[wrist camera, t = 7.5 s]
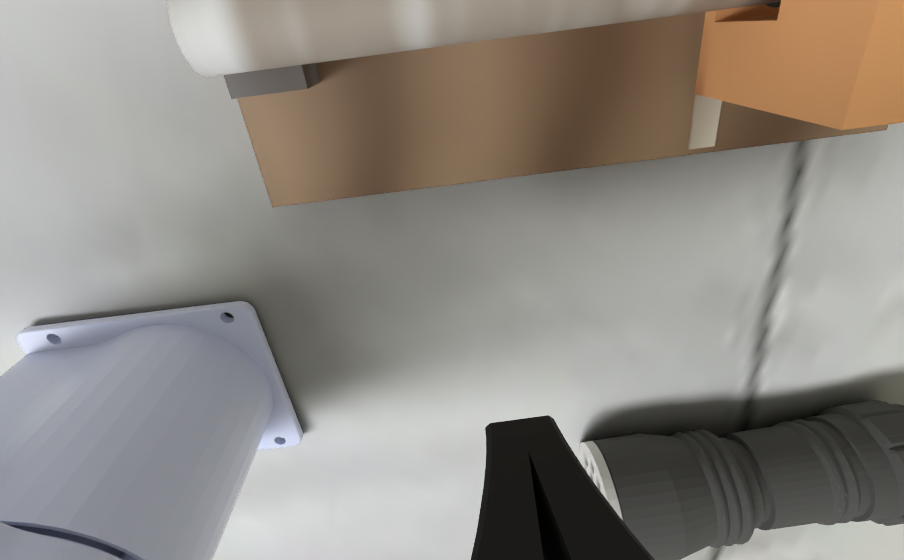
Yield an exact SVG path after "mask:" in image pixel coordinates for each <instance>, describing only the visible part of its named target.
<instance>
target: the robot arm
mask: <svg viewBox="0 0 904 560" xmlns="http://www.w3.org/2000/svg"><path fill="white" fill-rule="evenodd" d="M224 312H227V313H230V314H232V315H233V317H234V318H230V317H228V316H226V315H225V313H224ZM56 335H58V336H59V337H60V338H59V337H57V336H56ZM16 339H17V342H18V344H19V345H20V346H21V348H22V349H23V350H24V352H25V353H26V356H25V357H24V358H22V359H21V360H20V361H19V362H17V363H16V364H15V365H14V366H12V367H11V368H10V369H9V370H8V371H6V372H5V373H4V374H3V375H1V376H0V560H212V559H213V556H214V554H215V551H216V549H217V547H218V544H219V542H220V539H221V537H222V534H223V532H224V529H225V527H226V524H227V522H228V520H229V517H230V515H231V512H232V510H233V507H234V505H235V502H236V500H237V498H238V495H239V493H240V490H241V488H242V485H243V483H244V480H245V478H246V475H247V473H248V471H249V468H250V466H251V463H252V461H253V458H254V456H255V453H256V451H257V450H264V449H272V448H281V447H290V446H295V445H298V444H300V442H301V440H302V437H303V432H302V429H301V427H300V424H299V421H298V419H297V416H296V414H295V411H294V409H293V406H292V404H291V401H290V398H289V396H288V393H287V391H286V388H285V386H284V383H283V381H282V378H281V375H280V373H279V370H278V368H277V365H276V363H275V360H274V357H273V355H272V352H271V350H270V347H269V345H268V342H267V340H266V337H265V334H264V332H263V329H262V327H261V324H260V322H259V319H258V317H257V314H256V311H255V309H254V308H253V306H252V305H250V304H249V303H247V302H244V301H235V302H227V303H219V304H210V305H202V306H194V307H186V308H178V309H170V310H162V311H153V312H145V313H137V314H129V315H121V316H113V317H105V318H96V319H88V320H80V321H72V322H64V323H56V324H48V325H39V326H31V327H27V328H24V329H23V330H22V331H20V332H19V333H18V334H17V336H16ZM485 430H486V469H485V479H484V489H483V495H482V502H481V509H480V515H479V522H478V528H477V533H476V538H475V543H474V547H473V552H472V557H471V560H654V558H653V557H652V556H651V555H650V554H649V552H648V551H647V550H646V549H645V548H644V546H643V545H642V544H641V543H640V542H639V540H638V539H637V538H636V537H635V536H634V534H633V533H632V532H631V531H630V529H629V528H628V527H627V526H626V524H625V523H624V522H623V520H622V519H621V518H620V517H619V515H618V514H617V513H616V511H615V510H614V509H613V507H612V506H611V505H610V503H609V502H608V501H607V499H606V498H605V497H604V495H603V494H602V493H601V491H600V490H599V489H598V487H597V486H596V485H595V483H594V482H593V481H592V479H591V478H590V476H589V475H588V473H587V472H586V471H585V469H584V468H583V466H582V465H581V463H580V462H579V460H578V459H577V457H576V456H575V454H574V453H573V451H572V450H571V448H570V446H569V445H568V443H567V442H566V440H565V438H564V437H563V435H562V433H561V431H560V430H559V428H558V426H557V424H556V422H555V421H554V419H553V418H551V417H550V416H541V417H533V418H526V419H518V420H511V421H504V422H496V423H490V424H489V425H488V426H487V427H486V428H485ZM280 437H283V438H280Z"/></svg>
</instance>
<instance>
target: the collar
mask: <svg viewBox="0 0 904 560" xmlns="http://www.w3.org/2000/svg"><path fill="white" fill-rule="evenodd" d="M694 94H696V95H700V96H705V97H709V98H713V99H717V100H721V101H725V102H729V103H733V104H737V105H741V106H745V107H749V108H753V109H758V110H762V111H766V112H770V113H774V114H778V115H782V116H786V117H790V118H794V119H798V120H802V121H806V122H811V123H815V124H819V125H823V126H827V127H831V128H835V129H839V130H847V129H855V128H862V127H870V126H878V125H886V124H894V123H902V122H904V0H781V4H780V7H769V6H767V5H765V4H761V5H753V6H745V7H738V8H730V9H722V10H715V11H707V12H706V13H705V20H704V28H703V35H702V42H701V50H700V57H699V64H698V71H697V79H696V86H695V93H694Z"/></svg>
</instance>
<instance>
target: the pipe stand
mask: <svg viewBox="0 0 904 560" xmlns="http://www.w3.org/2000/svg"><path fill="white" fill-rule="evenodd" d="M761 4H765V5H767V6H769V7H780V4H781V0H167V9H168V16H169V20H170V24H171V28H172V31H173V34H174V36H175V39H176V41H177V44H178V46H179V48H180V50H181V52H182V54H183V55H184V57H185V59H186V60H187V62H188V63H189V64H190V66H191V67H192V68H193V69H194V70H195V71H196V72H197V73H198V74H200V75H201V76H203V77H212V76H220V75H224V77H225V80H226V83H227V86H228V89H229V92H230V95H231V99H234V98H237V99H238V103H239V106H240V109H241V112H242V115H243V118H244V121H245V124H246V127H247V130H248V133H249V136H250V139H251V142H252V146H253V149H254V152H255V155H256V158H257V161H258V164H259V167H260V170H261V173H262V176H263V179H264V182H265V186H266V189H267V192H268V195H269V198H270V201H271V204H272V207H279V206H286V205H294V204H302V203H310V202H318V201H326V200H334V199H342V198H350V197H358V196H366V195H374V194H382V193H390V192H397V191H405V190H413V189H421V188H429V187H437V186H445V185H453V184H461V183H469V182H477V181H485V180H493V179H501V178H508V177H516V176H524V175H532V174H540V173H548V172H556V171H564V170H572V169H580V168H588V167H596V166H604V165H611V164H619V163H627V162H635V161H643V160H651V159H659V158H667V157H675V156H683V155H691V154H699V153H707V152H715V151H722V150H730V149H738V148H746V147H754V146H762V145H770V144H778V143H786V142H794V141H802V140H810V139H818V138H826V137H833V136H841V135H849V134H857V133H865V132H873V131H881V130H887V127H888V124H886V125H878V126H870V127H862V128H855V129H847V130H839V129H835V128H831V127H827V126H823V125H819V124H815V123H811V122H806V121H802V120H798V119H794V118H790V117H786V116H782V115H778V114H774V113H770V112H766V111H762V110H758V109H753V108H749V107H745V106H741V105H737V104H733V103H729V102H725V101H721V100H717V99H713V98H709V97H705V96H700V95H696V94H694V93H695V86H696V79H697V71H698V64H699V57H700V50H701V42H702V35H703V28H704V20H705V13H706V12H707V11H715V10H722V9H730V8H738V7H745V6H753V5H761Z"/></svg>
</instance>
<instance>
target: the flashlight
mask: <svg viewBox="0 0 904 560" xmlns="http://www.w3.org/2000/svg"><path fill="white" fill-rule="evenodd" d="M579 451H580V463H581V465H582V466H583V468H584V469H585V471H586V472H587V473H588V475H589V476H590V478H591V479H592V481H593V482H594V483H595V485H596V486H597V487H598V489H599V490H600V491H601V493H602V494H603V495H604V497H605V498H606V499H607V501H608V502H609V503H610V505H611V506H612V507H613V509H614V510H615V511H616V513H617V514H618V515H619V517H620V518H621V519H622V520H623V522H624V523H625V524H626V526H627V527H628V528H629V529H630V531H631V532H632V533H633V534H634V536H635V537H636V538H637V539H638V540H639V542H640V543H641V544H642V545H643V546H644V548H645V549H646V550H647V551H648V552H649V554H650V555H651V556H652V557H653V558H654V560H680V559H682V558H684V557H686V556H688V555H690V554H693V553H695V552H697V551H699V550H701V549H703V548H705V547H707V546H711V547H714V548H719V547H721V546H722V545H725V546H732V545H733V544H744V543H746V542H747V541H749V539H750V538H751V536H752V534H753V531H754V529H755V528H759V529H761V530H770V529H777V528H784V527H791V526H798V525H805V524H812V523H818V524H823V525H834V524H835V523H847V522H849V521H855V522H860V521H868V520H871V521H873V522H875V523H878V524H884V525H886V526H890V525H897V524H904V406H903V405H898V404H889V403H886V402H882V401H876V400H873V401H866V402H860V403H853V404H846V405H840V406H836V407H832V408H827V409H824V410H823V411H821V413H820V414H819V415H818V416H812V417H806V418H804V419H802V420H799V419H797V420H792V421H790V422H788V421H784V422H780V423H778V424H776V425H774V426H773V427H767V428H761V429H754V430H748V431H741V432H735V433H728V434H725V435H723V436H722V437H720V438H718V437H717V436H716V435H714V434H713V433H711V432H709V431H707V430H702V429H698V430H695V431H694V432H693V431H686V432H684V433H680V432H678V433H675V434H673V435H672V436H664V435H654V434H643V433H639V434H632V435H626V436H619V437H613V438H606V439H600V440H594V441H587V442H581V443H580V446H579Z"/></svg>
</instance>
